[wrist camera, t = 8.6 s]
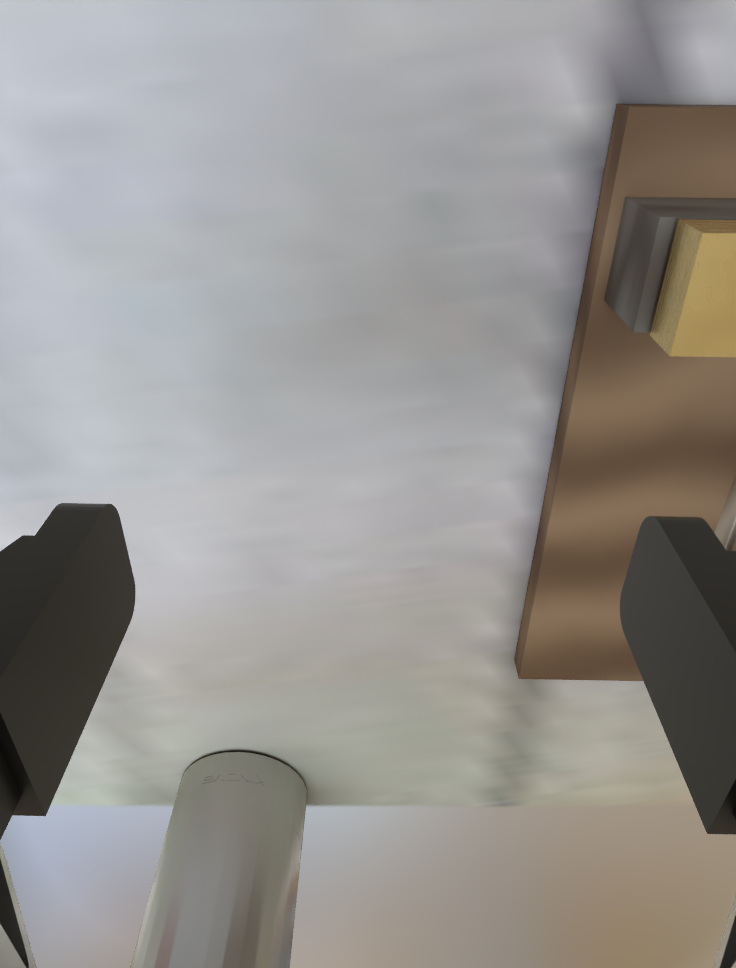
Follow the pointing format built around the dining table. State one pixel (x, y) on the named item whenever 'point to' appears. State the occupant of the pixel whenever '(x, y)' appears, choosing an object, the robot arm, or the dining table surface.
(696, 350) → the pale yellow flat block
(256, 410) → the dining table surface
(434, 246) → the dining table surface
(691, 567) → the robot arm
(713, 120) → the hinged wooden plank
